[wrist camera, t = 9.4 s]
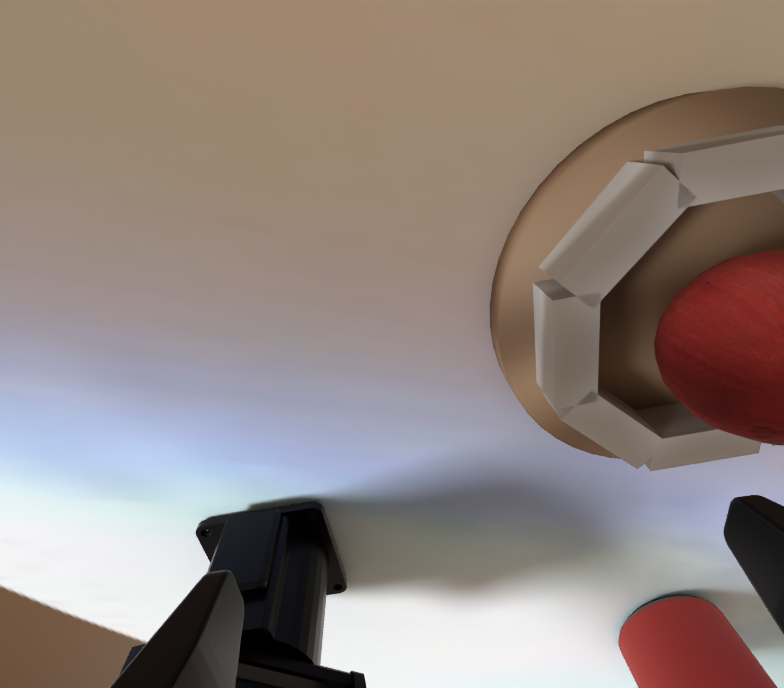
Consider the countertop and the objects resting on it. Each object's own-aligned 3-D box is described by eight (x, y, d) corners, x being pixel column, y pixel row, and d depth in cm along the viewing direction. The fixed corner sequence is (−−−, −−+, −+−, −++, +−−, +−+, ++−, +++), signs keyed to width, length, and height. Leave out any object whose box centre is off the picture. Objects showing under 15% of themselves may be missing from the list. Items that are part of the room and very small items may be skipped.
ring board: (806, 410, 22) (880, 457, 19) (502, 462, 22) (524, 517, 19) (904, 51, 15) (1043, 31, 12) (473, 135, 16) (500, 135, 13)
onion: (774, 327, 18) (1046, 458, 11) (638, 393, 19) (803, 552, 12) (745, 199, 16) (1064, 256, 9) (592, 281, 17) (762, 394, 10)
